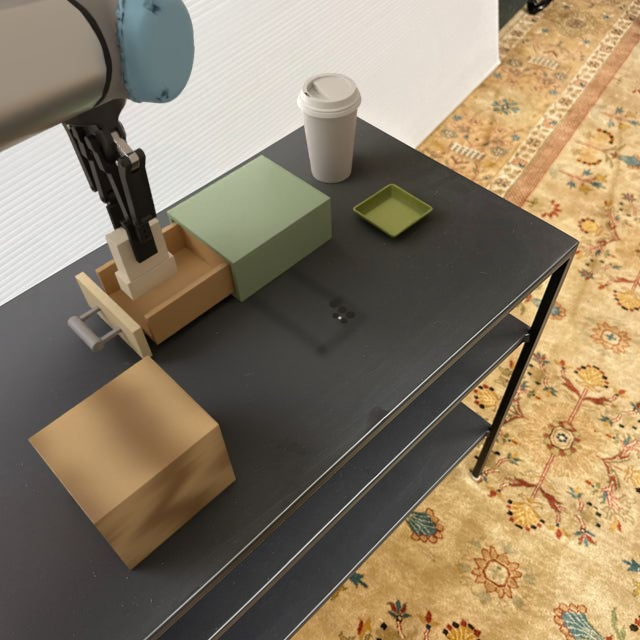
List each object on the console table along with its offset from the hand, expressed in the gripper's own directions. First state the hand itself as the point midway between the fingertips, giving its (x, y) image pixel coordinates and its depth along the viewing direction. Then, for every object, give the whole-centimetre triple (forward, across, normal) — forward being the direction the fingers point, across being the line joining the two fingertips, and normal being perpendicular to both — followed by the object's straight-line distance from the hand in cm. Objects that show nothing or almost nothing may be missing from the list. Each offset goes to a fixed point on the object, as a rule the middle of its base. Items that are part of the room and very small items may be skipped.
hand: (139, 249), depth 79 cm
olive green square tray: (+11, -11, -35) cm, 39 cm away
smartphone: (+12, -13, -14) cm, 22 cm away
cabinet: (+11, 0, -17) cm, 21 cm away
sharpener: (+6, 0, 0) cm, 6 cm away
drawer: (+10, 0, +1) cm, 10 cm away
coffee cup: (+11, +4, -37) cm, 39 cm away
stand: (+11, -21, +16) cm, 29 cm away
